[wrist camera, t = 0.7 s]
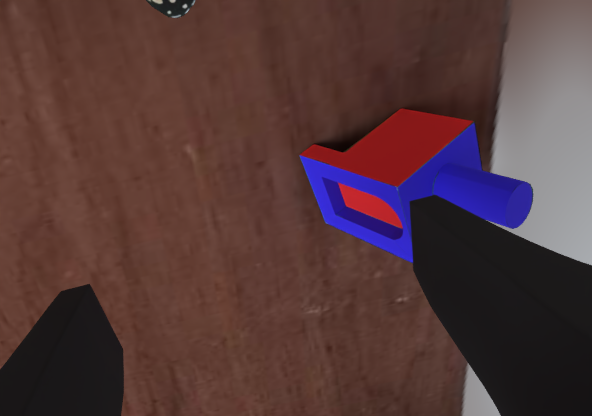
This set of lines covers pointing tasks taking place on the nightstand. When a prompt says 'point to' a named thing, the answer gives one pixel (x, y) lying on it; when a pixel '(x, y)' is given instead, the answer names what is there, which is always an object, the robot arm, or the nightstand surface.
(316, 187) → the toy building block
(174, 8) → the butterfly
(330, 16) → the nightstand surface
